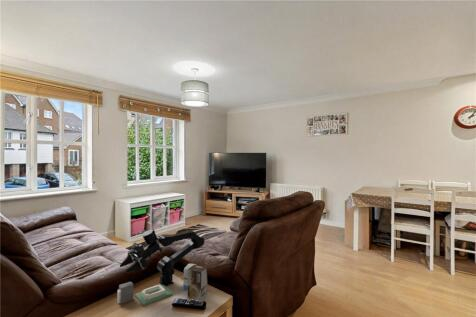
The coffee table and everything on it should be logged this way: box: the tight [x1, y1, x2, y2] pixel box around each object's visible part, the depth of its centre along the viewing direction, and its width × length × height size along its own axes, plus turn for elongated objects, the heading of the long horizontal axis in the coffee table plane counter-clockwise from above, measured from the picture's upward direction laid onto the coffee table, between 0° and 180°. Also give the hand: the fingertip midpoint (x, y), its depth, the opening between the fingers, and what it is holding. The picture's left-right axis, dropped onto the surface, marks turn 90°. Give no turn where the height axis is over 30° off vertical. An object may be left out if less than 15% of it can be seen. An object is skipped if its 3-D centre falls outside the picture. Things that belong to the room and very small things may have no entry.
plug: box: [116, 281, 134, 305], centre depth 128 cm, size 7×4×8 cm, turn 131°
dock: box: [134, 283, 173, 307], centre depth 133 cm, size 16×12×3 cm
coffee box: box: [186, 265, 209, 302], centre depth 132 cm, size 9×6×16 cm
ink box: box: [182, 263, 197, 291], centre depth 143 cm, size 8×5×12 cm, turn 168°
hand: (122, 269), depth 129 cm, fingers open, 9 cm apart
